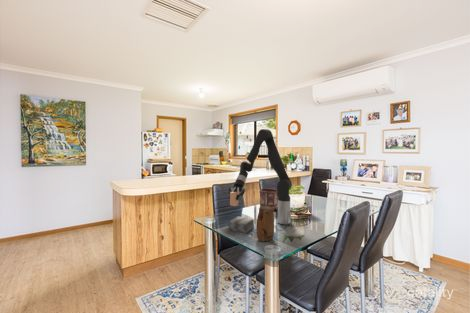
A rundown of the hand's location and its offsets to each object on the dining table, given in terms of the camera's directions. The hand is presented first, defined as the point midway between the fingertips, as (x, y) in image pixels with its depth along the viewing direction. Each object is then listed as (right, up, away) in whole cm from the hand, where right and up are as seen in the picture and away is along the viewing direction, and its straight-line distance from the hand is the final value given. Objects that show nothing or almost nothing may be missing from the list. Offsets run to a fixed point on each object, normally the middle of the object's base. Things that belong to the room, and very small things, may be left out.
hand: (233, 199), depth 173 cm
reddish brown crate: (+33, -17, +38) cm, 53 cm away
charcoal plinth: (+6, -18, -13) cm, 23 cm away
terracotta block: (+1, -5, +2) cm, 5 cm away
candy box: (+60, -18, +26) cm, 68 cm away
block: (+20, -19, -32) cm, 42 cm away
